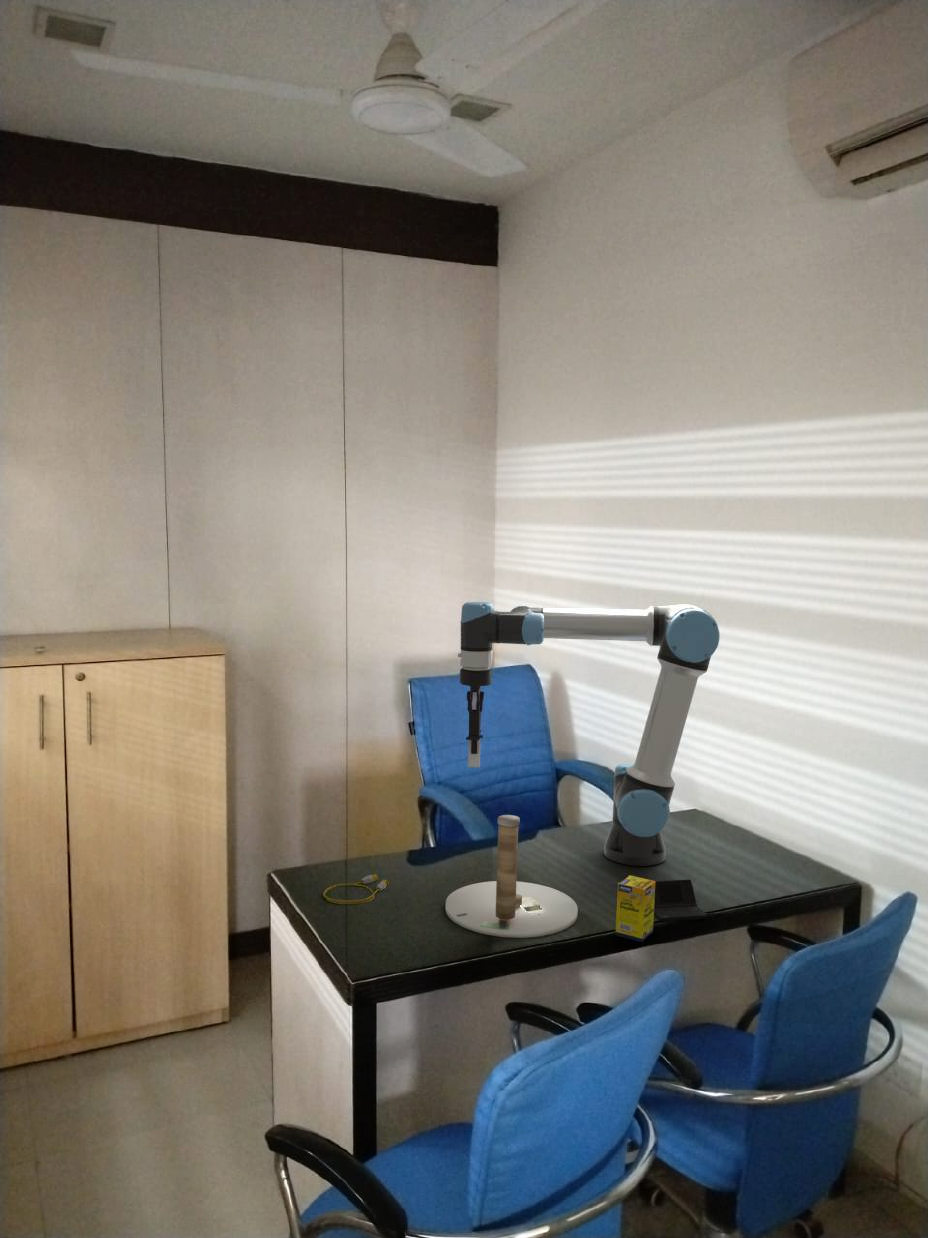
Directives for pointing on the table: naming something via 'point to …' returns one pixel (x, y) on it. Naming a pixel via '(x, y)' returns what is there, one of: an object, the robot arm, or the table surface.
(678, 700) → the robot arm
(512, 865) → the lever
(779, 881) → the table surface
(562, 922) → the dial plate
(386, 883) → the extension cord
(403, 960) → the table surface
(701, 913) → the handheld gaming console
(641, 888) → the supplement box
